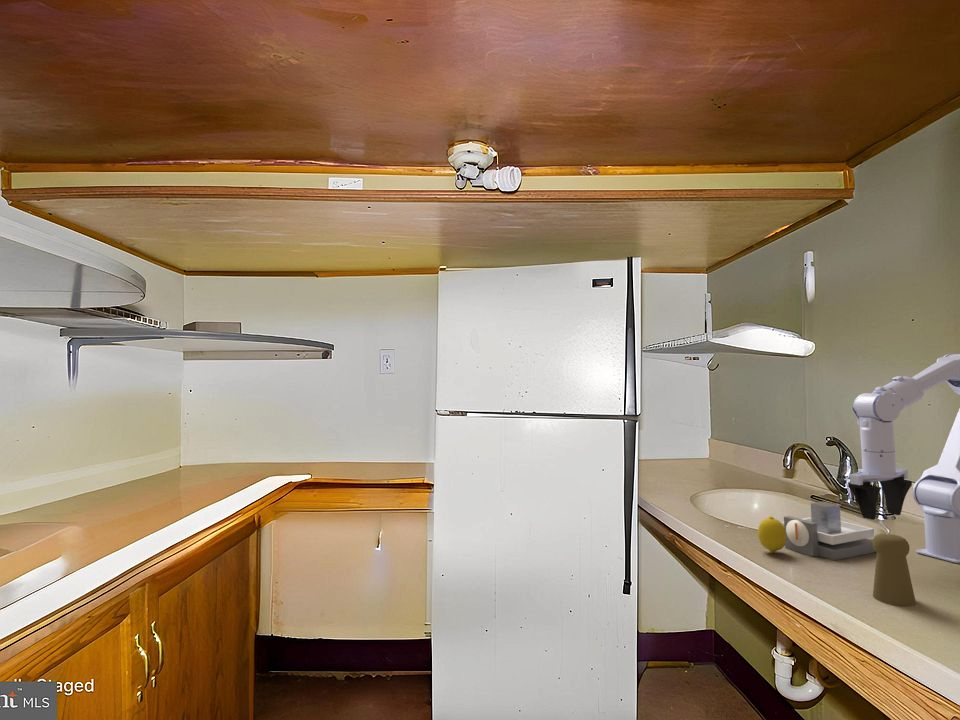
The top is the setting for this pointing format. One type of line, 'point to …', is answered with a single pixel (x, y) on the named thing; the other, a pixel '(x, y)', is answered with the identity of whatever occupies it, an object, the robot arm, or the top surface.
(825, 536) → the kitchen scale
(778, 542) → the lemon
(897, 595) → the cork
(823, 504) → the steel block
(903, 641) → the top surface
